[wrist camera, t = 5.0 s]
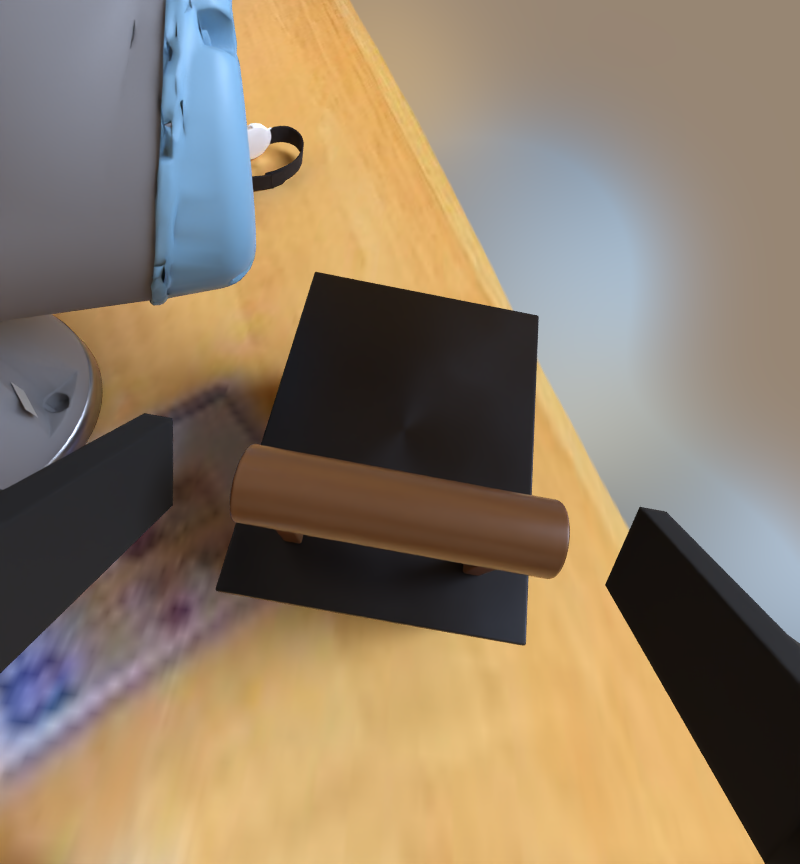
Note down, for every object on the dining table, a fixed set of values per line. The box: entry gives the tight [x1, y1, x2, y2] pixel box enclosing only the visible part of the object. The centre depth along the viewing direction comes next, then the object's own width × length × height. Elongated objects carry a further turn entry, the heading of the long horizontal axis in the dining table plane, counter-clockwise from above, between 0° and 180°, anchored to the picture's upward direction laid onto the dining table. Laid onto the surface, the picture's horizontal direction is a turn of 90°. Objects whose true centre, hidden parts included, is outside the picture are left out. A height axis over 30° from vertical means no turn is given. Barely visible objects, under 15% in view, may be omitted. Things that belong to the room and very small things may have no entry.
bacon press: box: [216, 272, 570, 645], centre depth 16 cm, size 15×12×8 cm
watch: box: [247, 123, 304, 191], centre depth 38 cm, size 8×5×4 cm, turn 131°
